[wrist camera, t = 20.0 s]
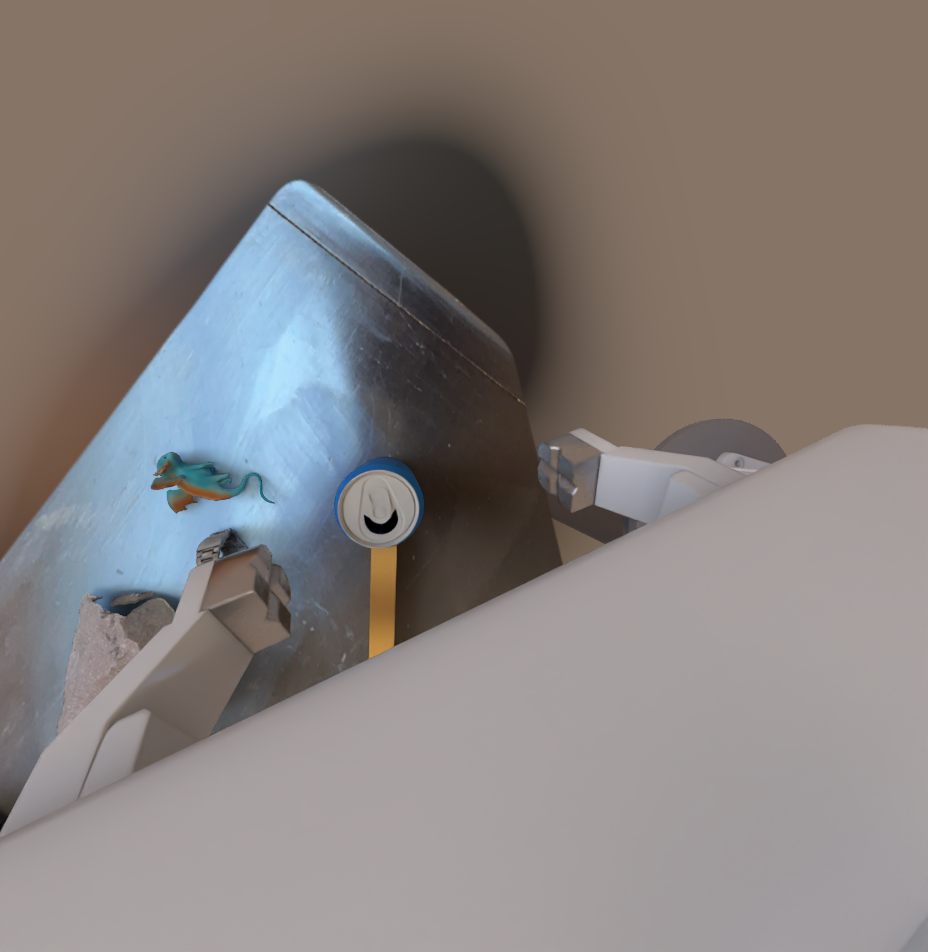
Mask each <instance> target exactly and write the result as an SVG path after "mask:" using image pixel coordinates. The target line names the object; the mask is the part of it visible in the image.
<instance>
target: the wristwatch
mask: <svg viewBox="0 0 928 952" xmlns="http://www.w3.org/2000/svg"><path fill="white" fill-rule="evenodd" d="M245 549H248V548H247V547H246V546H245V543H243V542H242V541H239V538H238V536H237V535H236V532H235V531H234V530H232V529H231V528H229V529H226V530H223V531H220V532H217V533H213V534H211V535H210V537H208V538H206V539H205V540H203V541H202V542H201V544H200V545H199V546H198V549H197V559H196V564H197V566H199V565H202V564H205V563H207V562H210V561H213V560H217V559H219V555H220V551H221V552H222V555H223V557H224V556H227V555H230V554H233V553H236V552H239V551H242V550H245Z"/></svg>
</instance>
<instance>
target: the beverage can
mask: <svg viewBox="0 0 928 952" xmlns="http://www.w3.org/2000/svg"><path fill="white" fill-rule="evenodd" d="M334 509H335V516H336V519H337V522H338V524H339V526H340V528H341V529H342V531H343V532H344V533H345V535H347V536H348V537H349V538H350V539H351V540H352V541H354V542H356V543H357V544H359V545H362V546H364V547H368V548H375V549H383V548H389V547H393V546H395V545H398V544H400V543H402V542H404V541H405V540H406V539H408V538H409V537H410V536H411V535H412V534H413V533H414V532H415V530H416V529H417V527H418V526H419V524H420V522H421V519H422V516H423V511H424V498H423V494H422V491H421V488H420V486H419V484H418V482H417V480H416V478H415V476H414V474H413V472H412V471H411V469H410V468H409V467H408V466H407V465H406V464H404V463H403V462H401V461H399V460H397V459H394V458H390V457H380V458H376V459H373V460H370V461H369V462H367V463H365V464H364V465H362V466H360V467H359V468H357V469H356V470H354V471H353V472H351V473H350V474H349V475H348V476H347V477H346V478H345V479H344V480H343V481H342V483H341V485H340V486H339V488H338V491H337V493H336V497H335V503H334Z"/></svg>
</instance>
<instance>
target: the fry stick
mask: <svg viewBox="0 0 928 952" xmlns="http://www.w3.org/2000/svg"><path fill="white" fill-rule="evenodd" d="M396 562H397V545H395V546H393V547H389V548H383V549H375V548H371V585H370V631H369V659H370V658H372V657H374V656H376V655H378V654H380V653H382V652H384V651H386V650H388V649H390V648H392V647H394V632H395V597H396Z"/></svg>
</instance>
